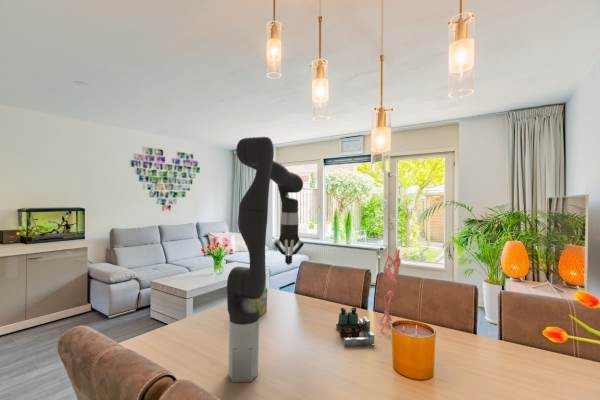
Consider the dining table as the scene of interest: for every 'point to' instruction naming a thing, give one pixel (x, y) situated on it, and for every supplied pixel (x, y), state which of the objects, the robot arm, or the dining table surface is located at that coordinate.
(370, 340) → the bracket
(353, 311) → the binoculars
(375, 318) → the dining table surface
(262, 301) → the chalk box
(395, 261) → the figurine
